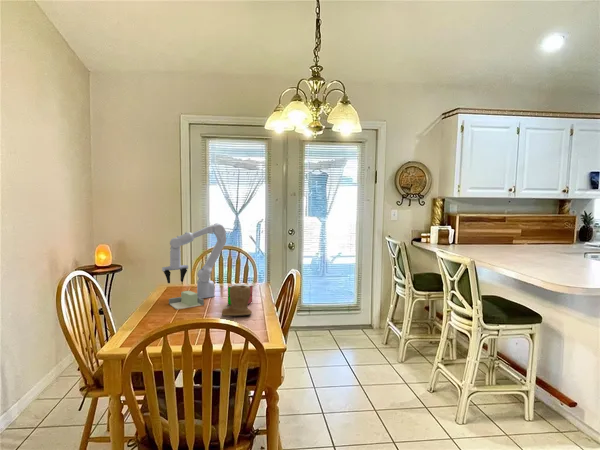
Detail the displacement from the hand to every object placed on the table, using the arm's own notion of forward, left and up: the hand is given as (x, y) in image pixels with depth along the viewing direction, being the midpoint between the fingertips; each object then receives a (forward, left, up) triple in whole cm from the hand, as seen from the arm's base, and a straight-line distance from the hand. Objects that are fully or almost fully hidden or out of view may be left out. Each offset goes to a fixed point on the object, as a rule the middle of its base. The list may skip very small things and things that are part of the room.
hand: (175, 282), depth 223 cm
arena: (0, +15, -9) cm, 18 cm away
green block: (-2, +16, -9) cm, 18 cm away
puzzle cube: (-26, +29, -10) cm, 40 cm away
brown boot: (-15, +45, -10) cm, 48 cm away
